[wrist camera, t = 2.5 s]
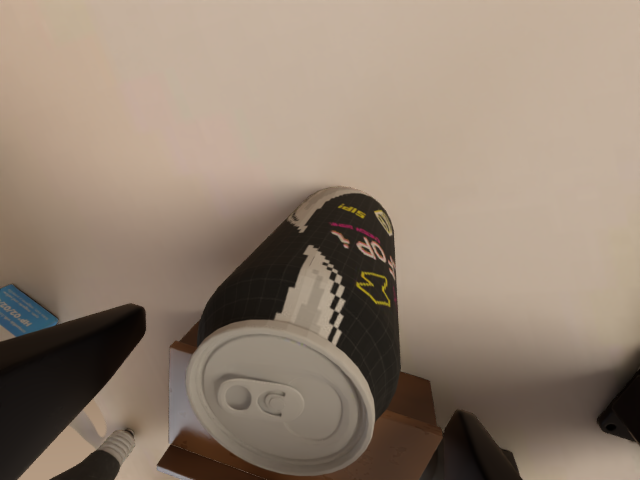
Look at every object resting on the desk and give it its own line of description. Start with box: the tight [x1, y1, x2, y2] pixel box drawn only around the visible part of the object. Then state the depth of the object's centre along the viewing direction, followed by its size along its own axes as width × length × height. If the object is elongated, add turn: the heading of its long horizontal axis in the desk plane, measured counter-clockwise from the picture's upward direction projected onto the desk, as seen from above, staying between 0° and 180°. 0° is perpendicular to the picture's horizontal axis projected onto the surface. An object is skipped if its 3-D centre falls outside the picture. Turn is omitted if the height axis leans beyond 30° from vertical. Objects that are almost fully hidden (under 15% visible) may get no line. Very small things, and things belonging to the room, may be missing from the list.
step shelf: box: [157, 320, 443, 480], centre depth 21 cm, size 16×10×6 cm, turn 79°
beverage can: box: [185, 186, 401, 476], centre depth 12 cm, size 6×6×12 cm
